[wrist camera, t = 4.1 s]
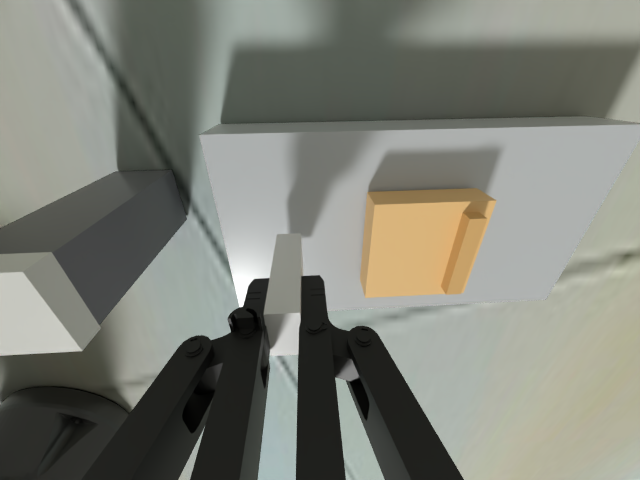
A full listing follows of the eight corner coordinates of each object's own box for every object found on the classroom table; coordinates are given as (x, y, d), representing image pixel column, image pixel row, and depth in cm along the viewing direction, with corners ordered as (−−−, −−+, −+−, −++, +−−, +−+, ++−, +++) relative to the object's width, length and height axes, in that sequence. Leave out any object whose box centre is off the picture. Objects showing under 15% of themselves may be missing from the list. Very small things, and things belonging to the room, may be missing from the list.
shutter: (359, 279, 20) (367, 306, 18) (367, 191, 16) (378, 210, 14) (449, 275, 20) (469, 301, 18) (476, 188, 17) (506, 206, 14)
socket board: (249, 283, 25) (241, 315, 22) (218, 124, 18) (199, 134, 14) (514, 270, 26) (546, 299, 23) (586, 116, 19) (648, 124, 16)
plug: (135, 222, 21) (-24, 357, 11) (113, 170, 19) (-111, 277, 9) (188, 220, 21) (82, 351, 11) (172, 168, 19) (22, 272, 9)
